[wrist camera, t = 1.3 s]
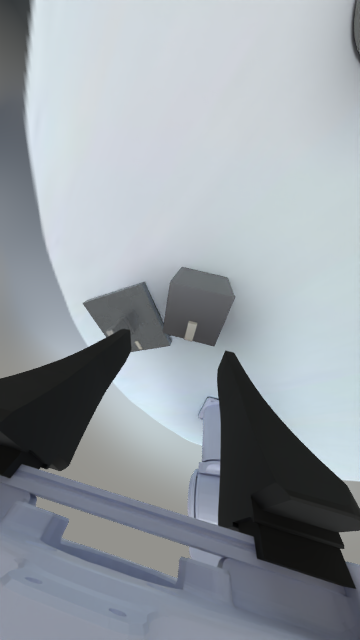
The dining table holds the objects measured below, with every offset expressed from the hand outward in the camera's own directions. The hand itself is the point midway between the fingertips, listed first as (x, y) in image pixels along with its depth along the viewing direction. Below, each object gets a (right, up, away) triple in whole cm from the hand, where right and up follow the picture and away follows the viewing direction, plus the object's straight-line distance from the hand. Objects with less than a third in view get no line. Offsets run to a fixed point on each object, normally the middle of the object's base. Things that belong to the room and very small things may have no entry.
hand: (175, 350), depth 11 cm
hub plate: (-7, +2, +12) cm, 14 cm away
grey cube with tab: (+3, +6, +7) cm, 10 cm away
